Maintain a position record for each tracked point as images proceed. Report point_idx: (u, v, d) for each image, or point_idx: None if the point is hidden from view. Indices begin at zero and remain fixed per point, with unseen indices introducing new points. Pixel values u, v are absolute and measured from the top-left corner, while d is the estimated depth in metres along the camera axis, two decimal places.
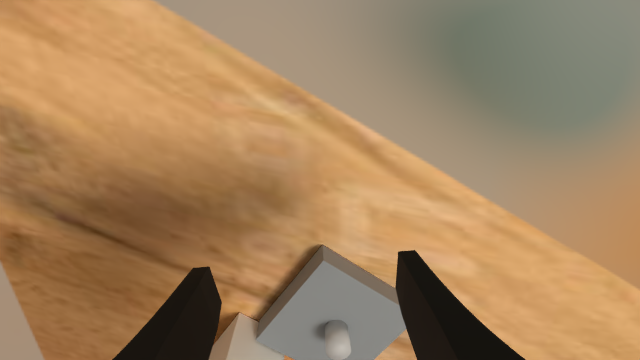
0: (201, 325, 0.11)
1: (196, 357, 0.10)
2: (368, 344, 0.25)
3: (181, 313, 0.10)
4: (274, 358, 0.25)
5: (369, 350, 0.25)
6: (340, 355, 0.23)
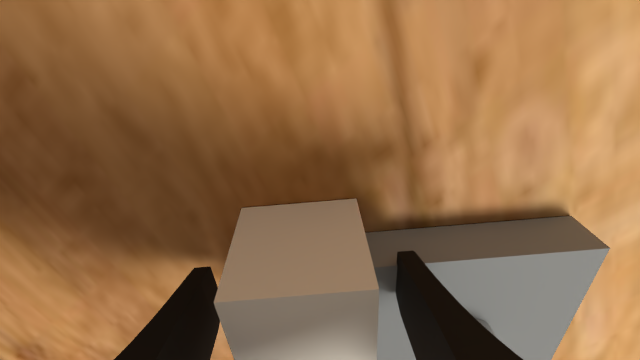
0: (202, 325, 0.11)
1: (197, 357, 0.10)
2: None
3: (182, 313, 0.10)
4: None
5: None
6: None
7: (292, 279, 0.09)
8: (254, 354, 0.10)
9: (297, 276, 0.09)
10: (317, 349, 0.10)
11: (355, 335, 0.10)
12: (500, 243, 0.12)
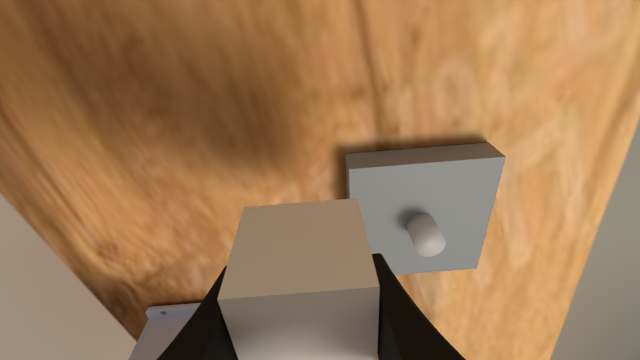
0: None
1: (234, 354, 0.10)
2: (417, 258, 0.22)
3: None
4: None
5: (410, 263, 0.22)
6: (425, 250, 0.19)
7: (294, 277, 0.09)
8: (256, 351, 0.10)
9: (299, 274, 0.10)
10: (318, 346, 0.10)
11: (356, 333, 0.10)
12: (436, 156, 0.19)
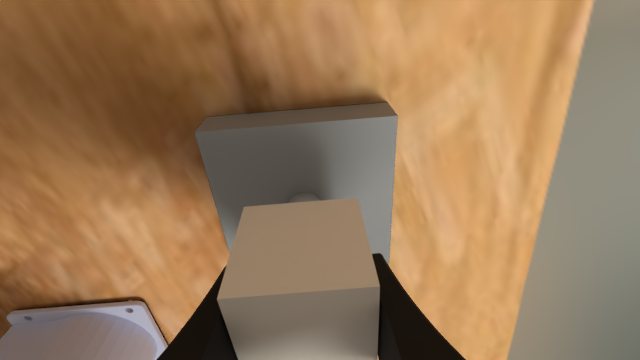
0: None
1: (234, 354, 0.10)
2: None
3: None
4: None
5: None
6: None
7: (294, 276, 0.09)
8: (256, 350, 0.10)
9: (299, 273, 0.09)
10: (319, 346, 0.10)
11: (356, 332, 0.10)
12: (312, 117, 0.15)
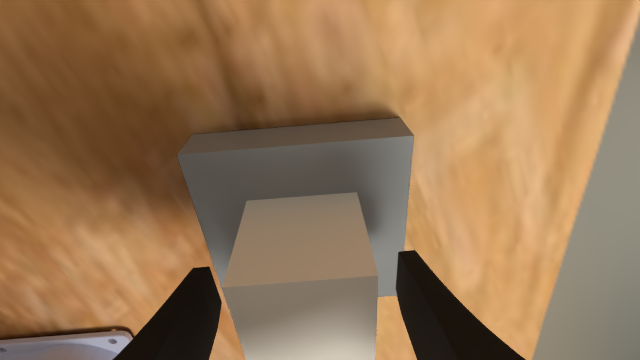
0: (201, 325, 0.11)
1: (196, 357, 0.10)
2: None
3: (181, 313, 0.10)
4: None
5: None
6: None
7: (296, 266, 0.10)
8: (259, 338, 0.11)
9: (301, 263, 0.10)
10: (319, 334, 0.11)
11: (355, 321, 0.10)
12: (314, 136, 0.13)
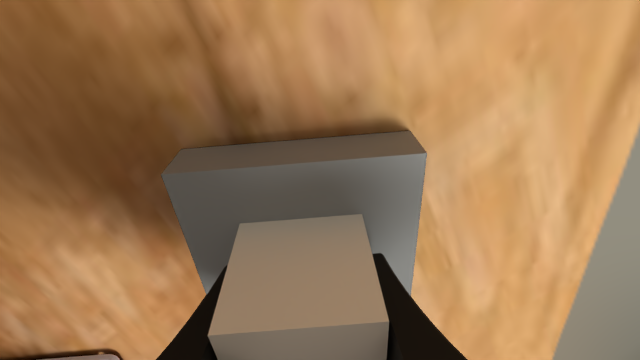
0: None
1: None
2: None
3: None
4: None
5: None
6: None
7: (294, 308, 0.09)
8: None
9: (299, 304, 0.09)
10: None
11: None
12: (315, 152, 0.11)
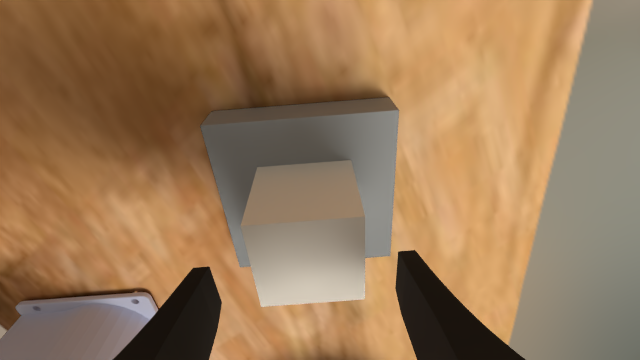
0: (201, 325, 0.11)
1: (196, 357, 0.10)
2: None
3: (181, 313, 0.10)
4: None
5: None
6: None
7: (299, 211, 0.12)
8: (269, 273, 0.13)
9: (303, 209, 0.12)
10: (318, 270, 0.13)
11: (347, 258, 0.13)
12: (315, 111, 0.15)
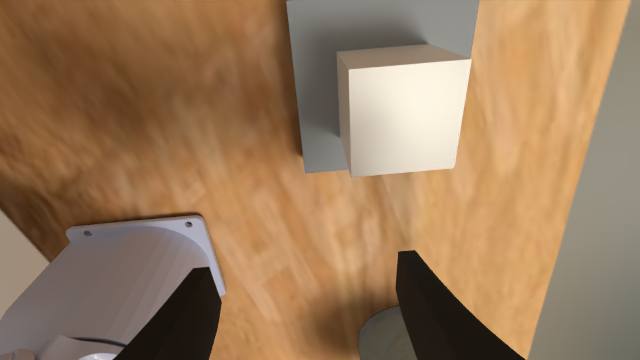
0: (201, 325, 0.11)
1: (196, 357, 0.10)
2: None
3: (181, 313, 0.10)
4: None
5: None
6: None
7: (402, 61, 0.12)
8: (366, 133, 0.13)
9: (405, 60, 0.12)
10: (415, 129, 0.13)
11: (446, 113, 0.13)
12: None
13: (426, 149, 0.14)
